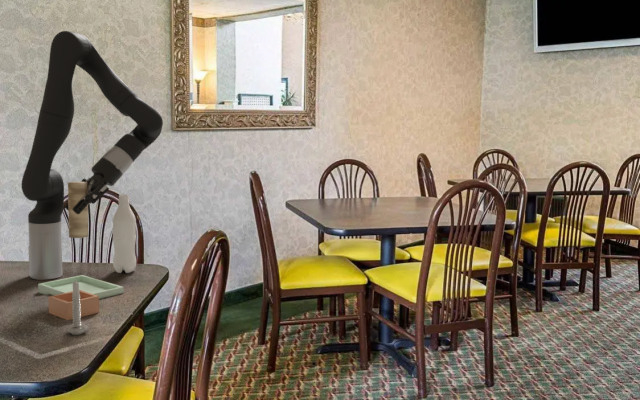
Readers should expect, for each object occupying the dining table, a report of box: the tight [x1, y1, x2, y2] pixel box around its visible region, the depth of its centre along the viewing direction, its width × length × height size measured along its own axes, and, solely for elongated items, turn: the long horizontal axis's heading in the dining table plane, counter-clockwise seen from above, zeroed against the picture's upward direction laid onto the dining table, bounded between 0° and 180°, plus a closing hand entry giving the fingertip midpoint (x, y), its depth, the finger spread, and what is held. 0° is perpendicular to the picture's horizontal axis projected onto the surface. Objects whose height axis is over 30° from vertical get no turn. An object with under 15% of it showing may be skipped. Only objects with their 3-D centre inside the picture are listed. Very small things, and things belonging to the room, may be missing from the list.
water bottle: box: [112, 193, 137, 274], centre depth 204 cm, size 7×7×25 cm
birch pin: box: [67, 181, 89, 239], centre depth 175 cm, size 5×5×15 cm
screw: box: [64, 281, 89, 336], centre depth 144 cm, size 13×5×5 cm
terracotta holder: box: [47, 290, 100, 321], centre depth 159 cm, size 9×9×5 cm
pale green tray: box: [37, 274, 125, 300], centre depth 178 cm, size 20×14×2 cm
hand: (71, 210), depth 174 cm, fingers closed on birch pin, 5 cm apart
